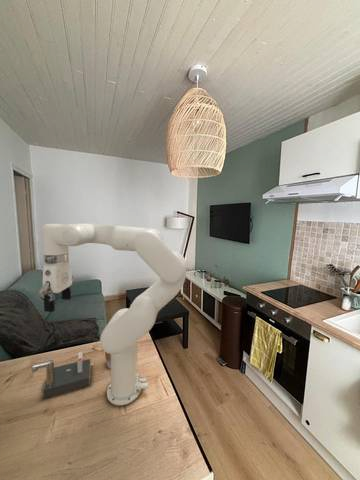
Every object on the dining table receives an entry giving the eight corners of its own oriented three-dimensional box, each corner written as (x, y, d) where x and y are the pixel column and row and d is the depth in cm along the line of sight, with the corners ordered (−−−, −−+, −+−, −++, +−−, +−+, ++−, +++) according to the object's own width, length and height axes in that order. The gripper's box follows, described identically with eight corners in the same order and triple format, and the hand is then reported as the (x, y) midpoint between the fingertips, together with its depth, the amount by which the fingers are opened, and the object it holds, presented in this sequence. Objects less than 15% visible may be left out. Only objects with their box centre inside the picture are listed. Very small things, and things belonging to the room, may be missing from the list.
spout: (55, 380, 74) (54, 357, 73) (54, 385, 72) (52, 362, 70) (34, 386, 71) (32, 362, 70) (32, 391, 69) (30, 367, 68)
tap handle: (79, 362, 83) (78, 351, 82) (83, 361, 83) (82, 350, 83) (77, 373, 77) (77, 361, 77) (82, 372, 78) (81, 359, 77)
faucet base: (94, 365, 86) (94, 357, 86) (94, 384, 76) (93, 376, 76) (50, 376, 80) (50, 367, 80) (43, 398, 70) (43, 389, 70)
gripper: (50, 264, 60) (53, 317, 62) (79, 254, 77) (80, 295, 79) (26, 264, 60) (29, 316, 62) (60, 254, 77) (62, 295, 79)
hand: (58, 304), depth 70 cm, fingers open, 9 cm apart
